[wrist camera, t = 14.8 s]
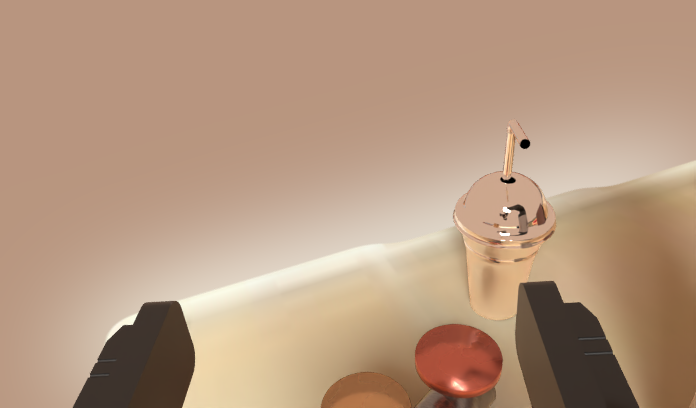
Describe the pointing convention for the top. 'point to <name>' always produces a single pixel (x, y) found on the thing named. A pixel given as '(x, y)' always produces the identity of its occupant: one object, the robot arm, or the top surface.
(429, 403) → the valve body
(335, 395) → the copper cylinder
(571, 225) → the top surface
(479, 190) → the cup with straw
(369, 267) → the top surface
